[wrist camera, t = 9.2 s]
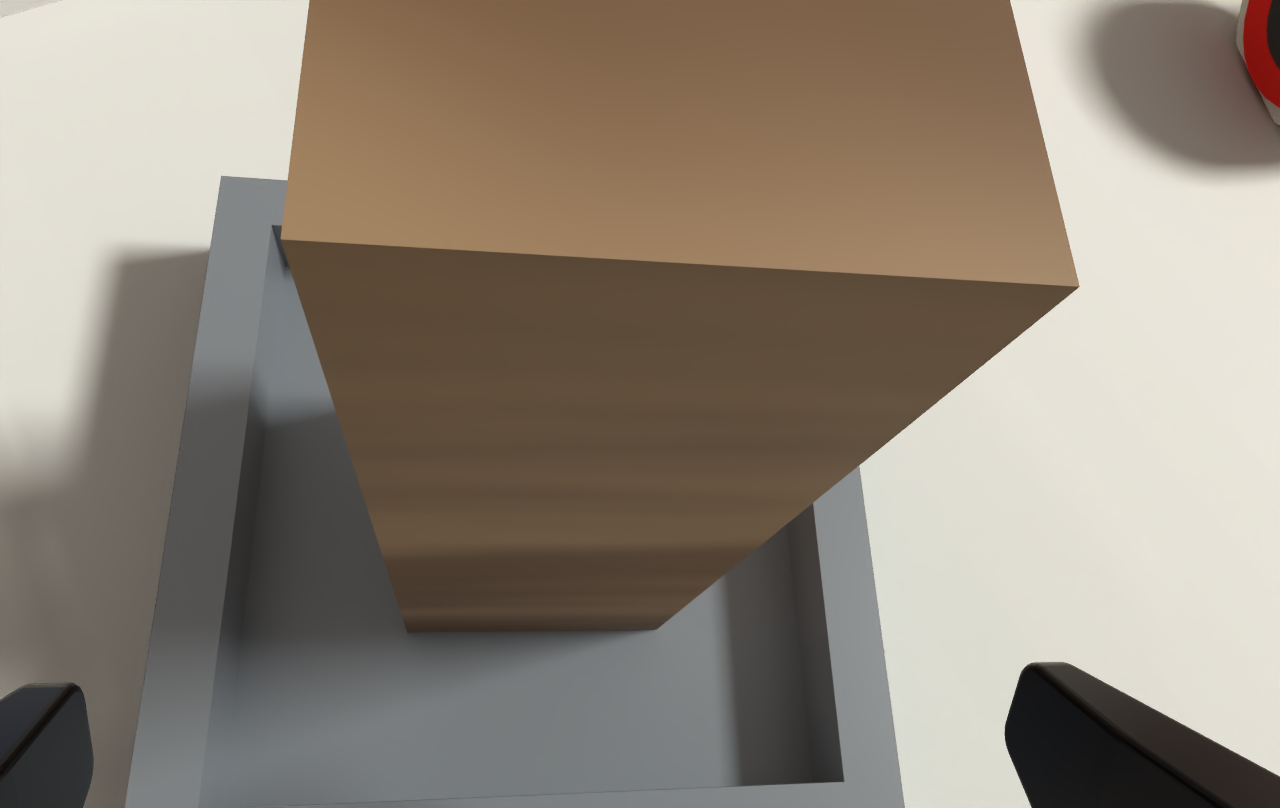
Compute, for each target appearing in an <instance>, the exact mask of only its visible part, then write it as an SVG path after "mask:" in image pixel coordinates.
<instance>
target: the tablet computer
mask: <svg viewBox="0 0 1280 808" xmlns="http://www.w3.org/2000/svg"><path fill="white" fill-rule="evenodd" d="M58 1H61V0H0V18H1V17H5V16H8V15H12V14H15V13H19V12H22V11H26V10H30V9H33V8H37V7H40V6H44V5H47V4H51V3H54V2H58Z"/></svg>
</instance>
